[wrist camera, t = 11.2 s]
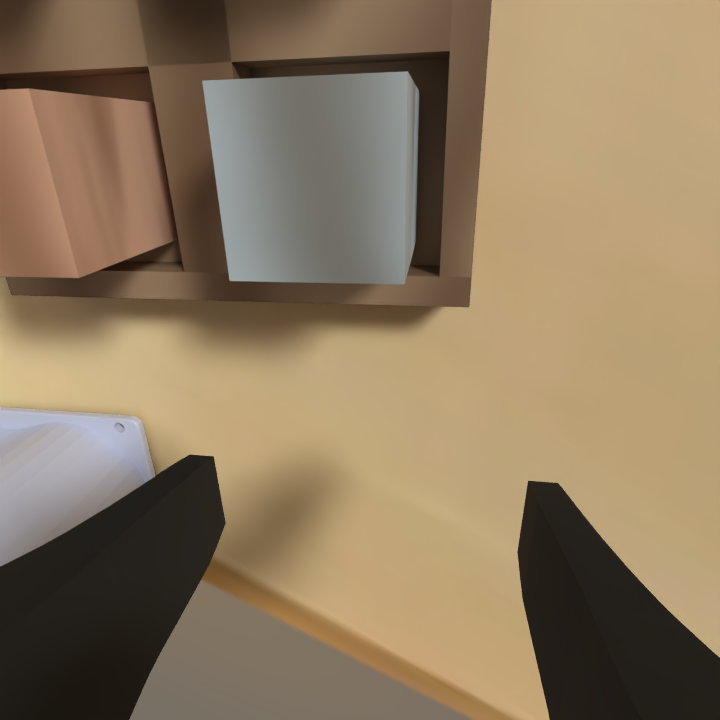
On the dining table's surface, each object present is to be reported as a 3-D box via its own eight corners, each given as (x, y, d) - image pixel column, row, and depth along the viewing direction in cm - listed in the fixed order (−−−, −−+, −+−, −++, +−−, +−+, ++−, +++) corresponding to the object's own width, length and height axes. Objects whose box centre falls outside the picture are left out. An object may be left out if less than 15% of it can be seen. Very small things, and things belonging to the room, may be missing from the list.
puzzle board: (58, 277, 21) (-93, 333, 15) (-111, -315, 14) (-521, -647, 8) (466, 286, 18) (476, 356, 12) (515, -436, 11) (593, -1060, 5)
